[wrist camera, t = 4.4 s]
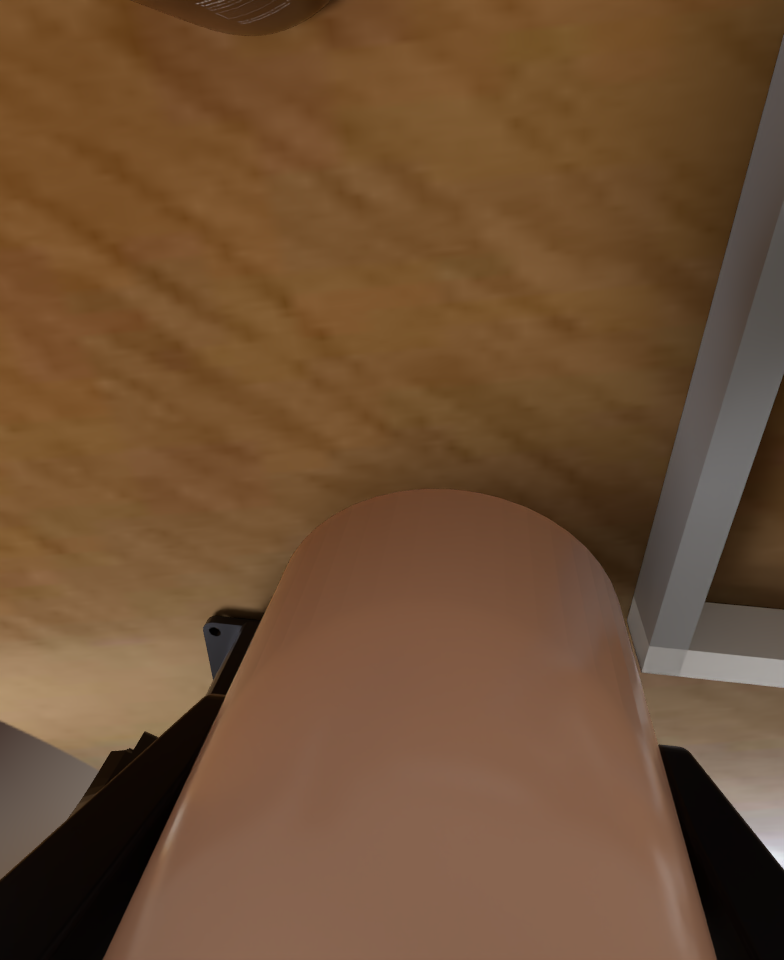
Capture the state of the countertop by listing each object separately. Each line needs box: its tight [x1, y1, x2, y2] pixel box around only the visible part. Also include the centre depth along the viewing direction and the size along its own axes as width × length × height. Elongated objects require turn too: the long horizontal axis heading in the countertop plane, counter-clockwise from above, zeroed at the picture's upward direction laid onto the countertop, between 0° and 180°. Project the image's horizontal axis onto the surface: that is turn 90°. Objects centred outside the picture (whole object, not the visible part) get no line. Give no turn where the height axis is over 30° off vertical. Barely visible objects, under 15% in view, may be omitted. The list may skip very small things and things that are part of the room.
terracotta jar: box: [103, 489, 717, 960], centre depth 7 cm, size 6×6×9 cm
